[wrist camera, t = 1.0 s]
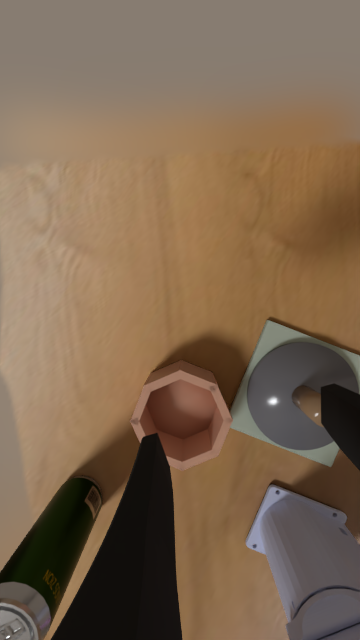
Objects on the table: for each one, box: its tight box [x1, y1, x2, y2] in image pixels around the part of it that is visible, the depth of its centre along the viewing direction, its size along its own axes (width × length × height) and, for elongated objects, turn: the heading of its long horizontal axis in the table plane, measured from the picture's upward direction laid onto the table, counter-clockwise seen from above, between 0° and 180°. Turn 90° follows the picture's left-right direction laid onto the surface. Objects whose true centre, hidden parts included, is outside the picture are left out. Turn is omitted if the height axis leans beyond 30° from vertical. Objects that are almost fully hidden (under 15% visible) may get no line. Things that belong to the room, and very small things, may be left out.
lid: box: [247, 342, 359, 450], centre depth 23 cm, size 12×12×5 cm
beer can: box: [0, 475, 102, 640], centre depth 22 cm, size 5×5×12 cm
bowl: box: [130, 360, 233, 471], centre depth 24 cm, size 9×9×4 cm
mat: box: [230, 320, 360, 467], centre depth 26 cm, size 13×13×1 cm
